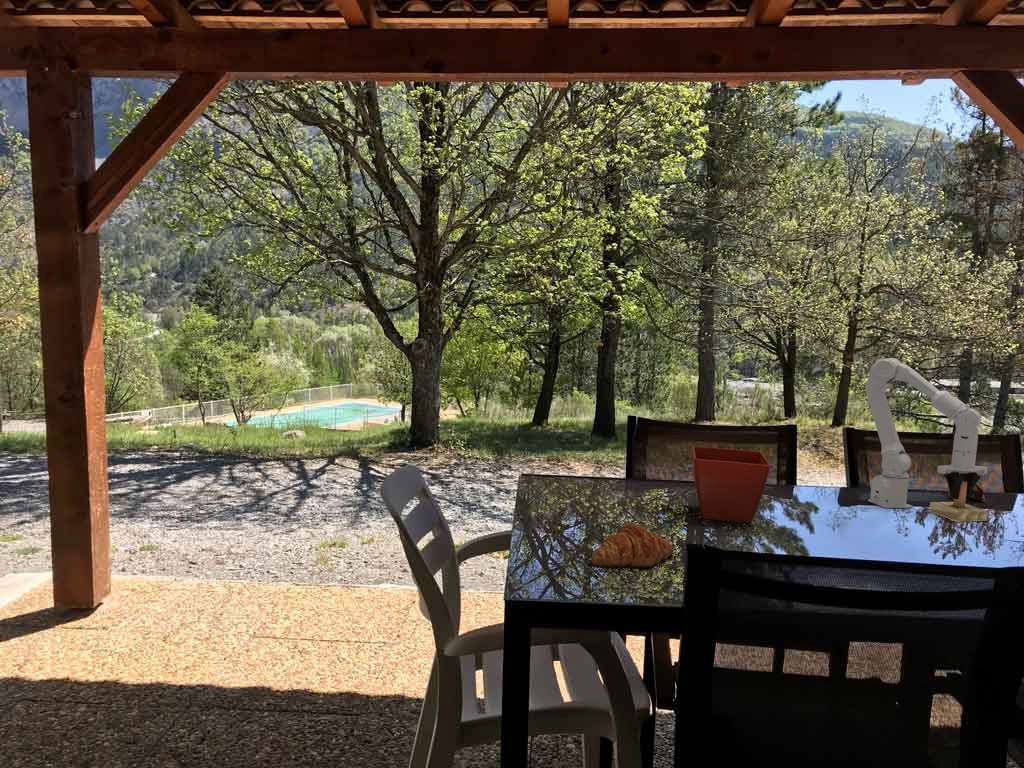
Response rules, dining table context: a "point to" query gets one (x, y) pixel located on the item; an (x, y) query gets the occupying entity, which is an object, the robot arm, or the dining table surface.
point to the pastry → (632, 549)
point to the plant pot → (729, 482)
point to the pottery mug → (976, 492)
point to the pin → (961, 495)
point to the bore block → (958, 512)
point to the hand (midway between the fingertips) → (959, 498)
